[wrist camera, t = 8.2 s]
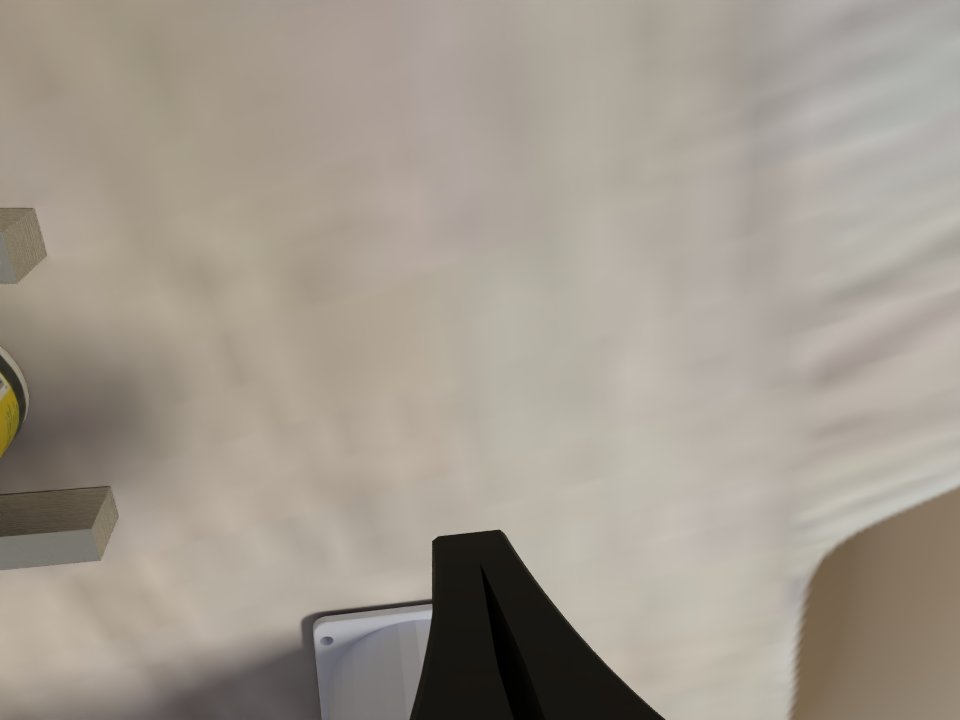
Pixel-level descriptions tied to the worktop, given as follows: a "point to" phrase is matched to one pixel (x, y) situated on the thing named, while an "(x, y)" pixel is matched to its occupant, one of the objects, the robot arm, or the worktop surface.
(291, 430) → the worktop surface
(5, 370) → the supplement bottle
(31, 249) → the square frame with handle
